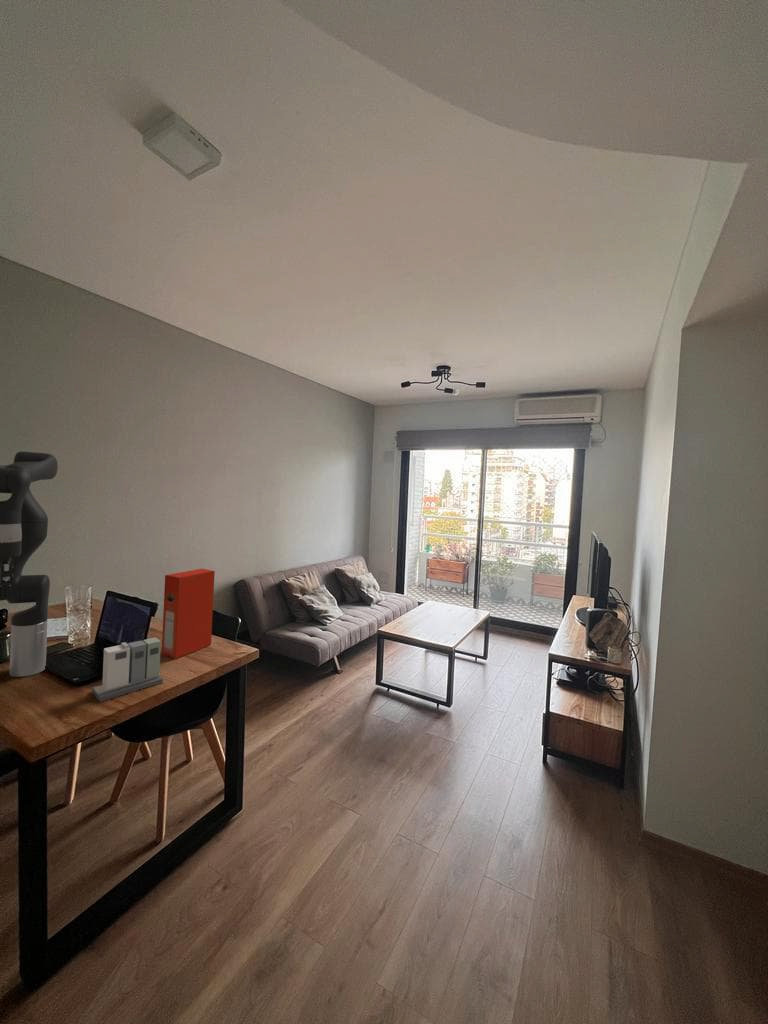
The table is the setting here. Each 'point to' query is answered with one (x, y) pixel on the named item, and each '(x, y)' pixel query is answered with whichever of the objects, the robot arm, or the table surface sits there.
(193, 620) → the file binder
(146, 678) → the board
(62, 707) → the table surface
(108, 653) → the block
